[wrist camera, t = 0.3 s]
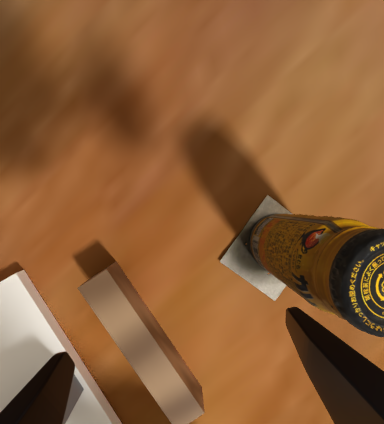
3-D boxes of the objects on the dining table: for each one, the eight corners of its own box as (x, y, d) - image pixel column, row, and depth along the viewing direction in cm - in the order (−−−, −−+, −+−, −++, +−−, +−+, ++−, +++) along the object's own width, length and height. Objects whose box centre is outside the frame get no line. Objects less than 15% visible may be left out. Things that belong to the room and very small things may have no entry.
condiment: (320, 235, 22) (491, 270, 10) (274, 300, 22) (387, 415, 10) (266, 194, 21) (374, 179, 9) (219, 260, 21) (266, 329, 9)
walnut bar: (201, 384, 22) (204, 413, 19) (177, 400, 22) (177, 431, 19) (117, 260, 21) (106, 269, 18) (92, 276, 21) (77, 288, 18)
